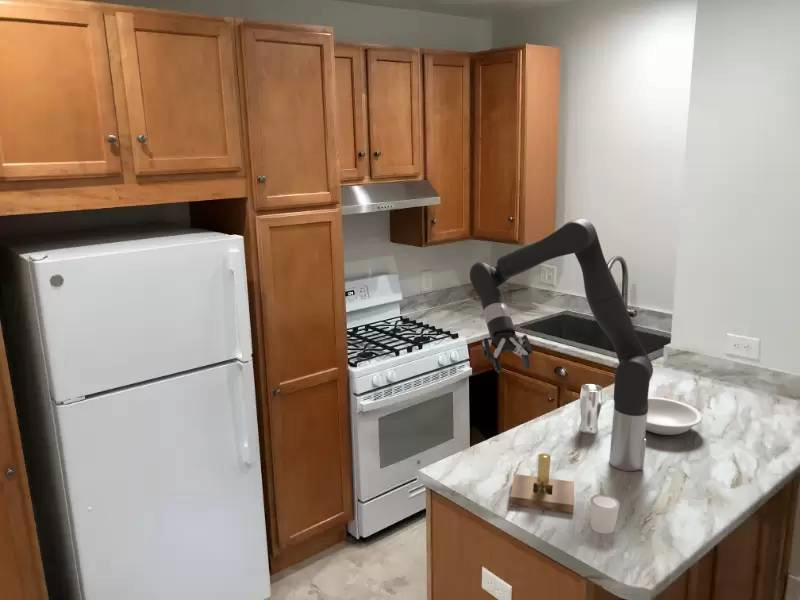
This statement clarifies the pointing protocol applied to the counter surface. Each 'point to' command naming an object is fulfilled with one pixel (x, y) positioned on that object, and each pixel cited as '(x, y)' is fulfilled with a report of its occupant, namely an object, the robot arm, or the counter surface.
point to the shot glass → (603, 513)
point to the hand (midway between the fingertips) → (513, 370)
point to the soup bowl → (670, 416)
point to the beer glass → (590, 408)
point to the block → (556, 502)
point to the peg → (543, 473)
